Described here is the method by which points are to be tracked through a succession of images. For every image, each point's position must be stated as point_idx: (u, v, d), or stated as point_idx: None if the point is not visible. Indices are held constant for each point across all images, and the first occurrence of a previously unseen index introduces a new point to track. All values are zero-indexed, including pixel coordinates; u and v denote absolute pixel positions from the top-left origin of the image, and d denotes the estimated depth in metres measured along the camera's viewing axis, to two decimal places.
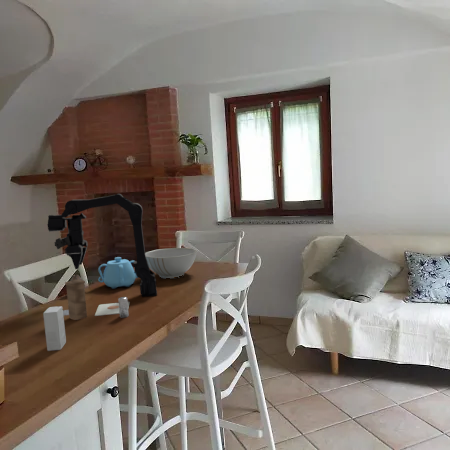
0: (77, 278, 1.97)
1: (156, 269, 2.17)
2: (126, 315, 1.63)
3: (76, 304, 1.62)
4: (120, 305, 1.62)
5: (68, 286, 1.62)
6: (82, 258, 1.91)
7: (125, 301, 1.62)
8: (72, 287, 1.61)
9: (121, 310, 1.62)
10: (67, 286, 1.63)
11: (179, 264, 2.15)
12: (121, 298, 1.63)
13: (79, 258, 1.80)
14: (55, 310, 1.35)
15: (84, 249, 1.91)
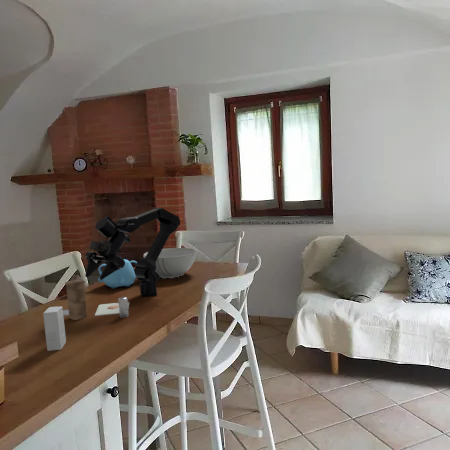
0: (77, 278, 1.97)
1: (156, 269, 2.17)
2: (126, 315, 1.63)
3: (76, 304, 1.62)
4: (120, 305, 1.62)
5: (68, 286, 1.62)
6: (91, 272, 1.75)
7: (125, 301, 1.62)
8: (72, 287, 1.61)
9: (121, 310, 1.62)
10: (67, 286, 1.63)
11: (179, 264, 2.15)
12: (121, 298, 1.63)
13: (112, 271, 1.69)
14: (55, 310, 1.35)
15: (97, 265, 1.77)
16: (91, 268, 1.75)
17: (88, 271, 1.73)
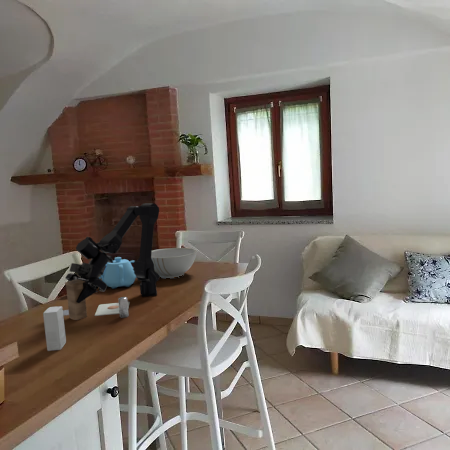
0: None
1: (156, 269, 2.17)
2: (126, 315, 1.63)
3: (76, 304, 1.62)
4: (120, 305, 1.62)
5: (68, 286, 1.62)
6: None
7: (125, 301, 1.62)
8: (72, 287, 1.61)
9: (121, 310, 1.62)
10: (67, 286, 1.63)
11: (179, 264, 2.15)
12: (121, 298, 1.63)
13: (89, 294, 1.64)
14: (55, 310, 1.35)
15: None
16: None
17: None
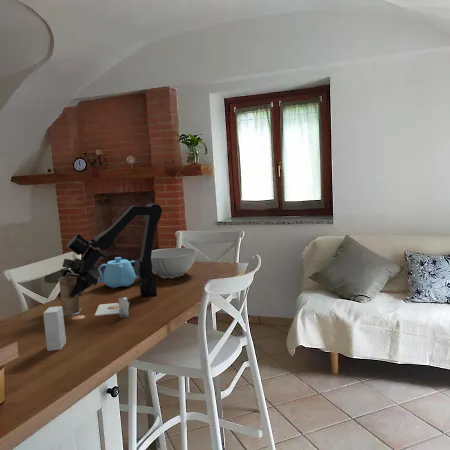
0: None
1: (156, 269, 2.17)
2: (126, 315, 1.63)
3: (69, 299, 1.69)
4: (120, 305, 1.62)
5: (61, 282, 1.70)
6: None
7: (125, 301, 1.62)
8: (65, 283, 1.68)
9: (121, 310, 1.62)
10: (60, 282, 1.70)
11: (179, 264, 2.15)
12: (121, 298, 1.63)
13: (83, 289, 1.71)
14: (55, 310, 1.35)
15: None
16: None
17: None
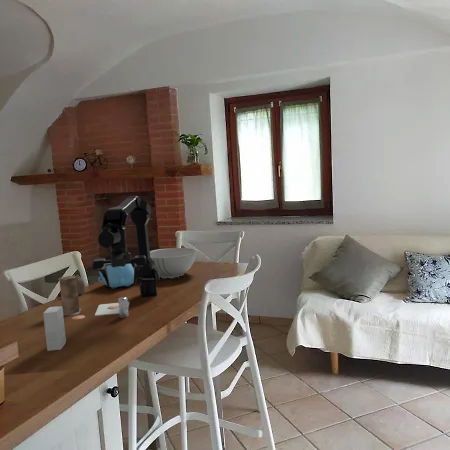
0: None
1: None
2: (126, 315, 1.63)
3: (69, 299, 1.69)
4: (120, 305, 1.62)
5: (61, 282, 1.70)
6: (108, 278, 1.63)
7: (125, 301, 1.62)
8: (65, 283, 1.68)
9: (121, 310, 1.62)
10: (60, 282, 1.70)
11: (179, 264, 2.15)
12: (121, 298, 1.63)
13: None
14: (55, 310, 1.35)
15: (106, 268, 1.63)
16: (107, 275, 1.62)
17: (108, 280, 1.61)
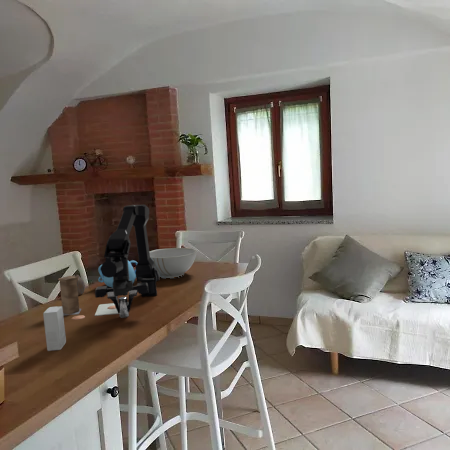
0: None
1: None
2: (126, 315, 1.63)
3: (69, 299, 1.69)
4: (120, 305, 1.62)
5: (61, 282, 1.70)
6: (118, 305, 1.64)
7: (125, 301, 1.62)
8: (65, 283, 1.68)
9: (121, 310, 1.62)
10: (60, 282, 1.70)
11: (179, 264, 2.15)
12: (121, 298, 1.63)
13: None
14: (55, 310, 1.35)
15: None
16: (117, 302, 1.63)
17: (118, 307, 1.63)
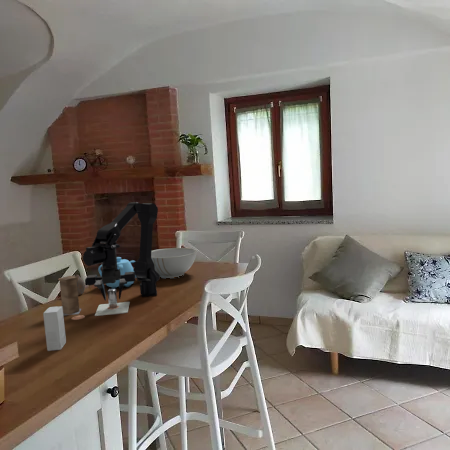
0: None
1: (156, 269, 2.17)
2: (115, 306, 1.74)
3: (69, 299, 1.69)
4: (109, 296, 1.73)
5: (61, 282, 1.70)
6: None
7: (114, 292, 1.73)
8: (65, 283, 1.68)
9: (110, 301, 1.73)
10: (60, 282, 1.70)
11: (179, 264, 2.15)
12: (110, 290, 1.74)
13: None
14: (55, 310, 1.35)
15: (103, 283, 1.75)
16: (103, 290, 1.74)
17: (105, 295, 1.73)
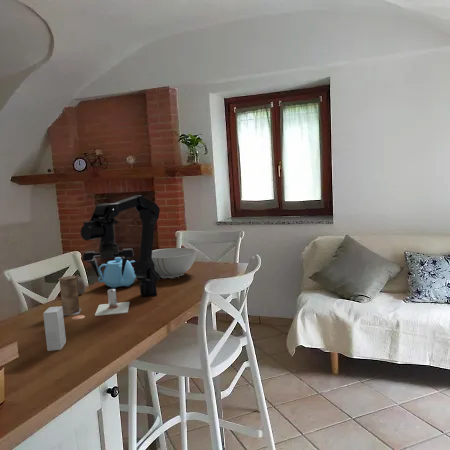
0: None
1: (156, 269, 2.17)
2: (115, 306, 1.74)
3: (69, 299, 1.69)
4: (109, 296, 1.73)
5: (61, 282, 1.70)
6: None
7: (114, 292, 1.73)
8: (65, 283, 1.68)
9: (110, 301, 1.73)
10: (60, 282, 1.70)
11: (179, 264, 2.15)
12: (110, 290, 1.74)
13: None
14: (55, 310, 1.35)
15: (96, 260, 1.74)
16: (96, 266, 1.72)
17: (98, 272, 1.72)
